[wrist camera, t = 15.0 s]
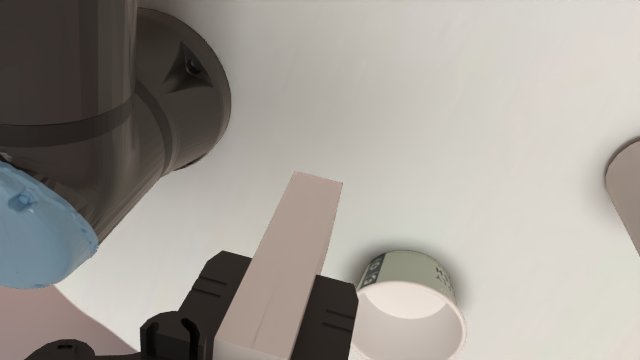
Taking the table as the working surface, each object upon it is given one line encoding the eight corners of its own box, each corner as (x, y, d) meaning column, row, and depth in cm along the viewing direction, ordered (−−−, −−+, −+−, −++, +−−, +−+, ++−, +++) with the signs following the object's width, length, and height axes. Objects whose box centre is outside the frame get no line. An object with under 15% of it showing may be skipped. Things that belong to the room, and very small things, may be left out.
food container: (487, 300, 54) (492, 349, 48) (393, 338, 59) (388, 386, 54) (421, 220, 50) (418, 263, 45) (328, 268, 56) (315, 311, 50)
